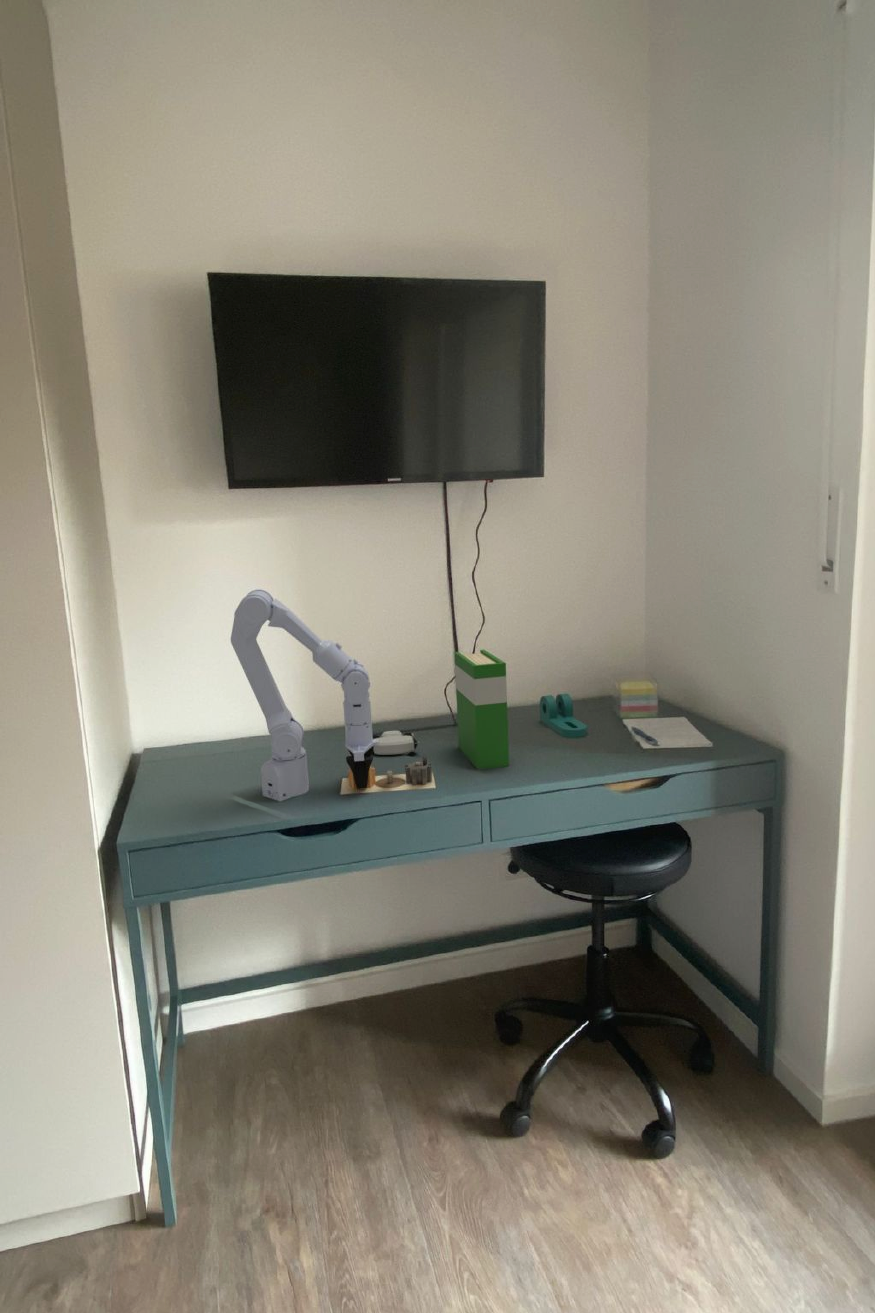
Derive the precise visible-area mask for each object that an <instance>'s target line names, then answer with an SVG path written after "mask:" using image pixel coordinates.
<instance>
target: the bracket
mask: <svg viewBox="0 0 875 1313" xmlns="http://www.w3.org/2000/svg"><path fill="white" fill-rule="evenodd" d="M571 697H572V696H570V695H569V693H558V694H557V695H556V697H554V696H553V695H552V694H551V695H543V696H541V697H540V700H539V721H540V723H543V725H545V726H547V728H549V729H550V730H552V731H553V732H555V733H557V734H558V735H560V736H561V737H563V738H567V739H579V738H584V737H586V736H587V735H588V725H587V724H585V723H583V722H582V721H580V720H578V719H577V718H575V717H574V705H573V700H572V698H571Z"/></svg>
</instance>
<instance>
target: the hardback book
mask: <svg viewBox="0 0 875 1313" xmlns="http://www.w3.org/2000/svg"><path fill="white" fill-rule="evenodd" d="M454 665H455V667H454V670H455V671H454V674H455V694H456V695H455V696H456V715H457V737H458V748H459V750H461V752H462V753H463V754H464V755H465V756H466V758H467V759H468V760H469V761H470V762H471V764H472V765H473V766H474V768H476V769H477V770H479V771H480V770H485V769H487V770H488V769H493V768H503V767H509V766H510V756H509V755H510V751H509V727H508V726H509V725H508V724H509V723H508V722H509V720H508V719H509V718H508V693H507V690H508V688H507V687H508V686H507V663H506V662H505V661H503V660H501V659H500V658H498V657H497V656H495V655H494V654H493V653H490V652H489V651H487V650H485V649H480V651H479V652H478V653H477V652H476V653H467V654H462V653H461V652H459V651H455V652H454Z"/></svg>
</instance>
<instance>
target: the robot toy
mask: <svg viewBox="0 0 875 1313" xmlns="http://www.w3.org/2000/svg"><path fill="white" fill-rule="evenodd" d="M382 732H383V733H382V734H381V735H377V734H372V735H373V739H374V740H375V739H377V740H378V742H379V743H378V745H374V748H373V750H372V753H374V754H375V755H380V756H388V755H389V756H391V755H403V756H408V755H409V754H410V753H411V752H412V753H413V752H414V750H416V748H417V747H418V745H420V741H418V740H417V739H416V738H415V737H414V733H412V732H409V731H408V732H405V733H404V734H402V732H401V731H400V730H387V731H382Z"/></svg>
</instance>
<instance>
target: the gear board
mask: <svg viewBox="0 0 875 1313" xmlns="http://www.w3.org/2000/svg"><path fill="white" fill-rule="evenodd" d="M404 770H405V773H400V774H393V771H392V770H387V771H386V774H385V775H384V774H383V775H375V779H376V784H373V787H371V788H370V787H367V788H364V789H357V788H355V789H353V788H351V786H349V777H343V778H342V780H341V787H340V795H353V794H365V793H366V794H367V793H381V792H394V791H396V792H397V791H412V790H424V789H436V788H437V787H436V783H435V777H434V776H435V775H434V772H433V771H432V763H431V762H428V758H427V756H424V757H422V760H420V761H410V763H406V764H405V765H404Z"/></svg>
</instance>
